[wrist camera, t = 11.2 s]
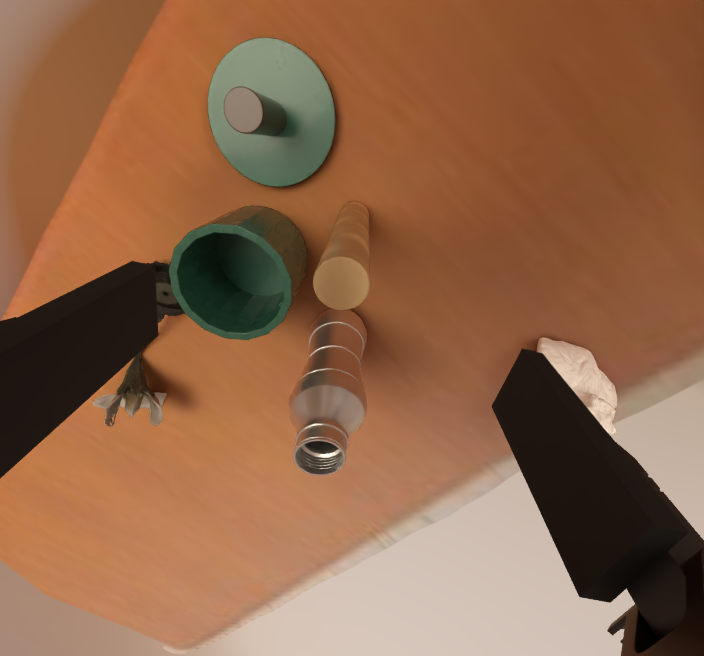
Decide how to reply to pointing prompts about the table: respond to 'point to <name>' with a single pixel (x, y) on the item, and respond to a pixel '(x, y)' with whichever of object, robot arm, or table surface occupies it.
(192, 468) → the table surface
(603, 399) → the bust
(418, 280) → the table surface
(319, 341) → the plastic bottle
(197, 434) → the table surface
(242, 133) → the lid
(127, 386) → the artificial flower
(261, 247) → the pot
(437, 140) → the table surface
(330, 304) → the stick
